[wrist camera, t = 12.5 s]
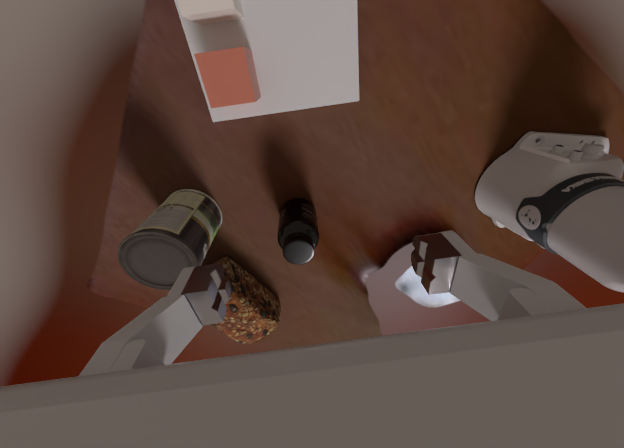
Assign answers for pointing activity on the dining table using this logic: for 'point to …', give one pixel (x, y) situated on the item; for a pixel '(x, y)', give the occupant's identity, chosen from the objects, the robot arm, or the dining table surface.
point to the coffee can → (171, 239)
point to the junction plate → (287, 53)
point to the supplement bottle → (298, 231)
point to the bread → (247, 306)
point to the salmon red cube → (229, 76)
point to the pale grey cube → (211, 10)
